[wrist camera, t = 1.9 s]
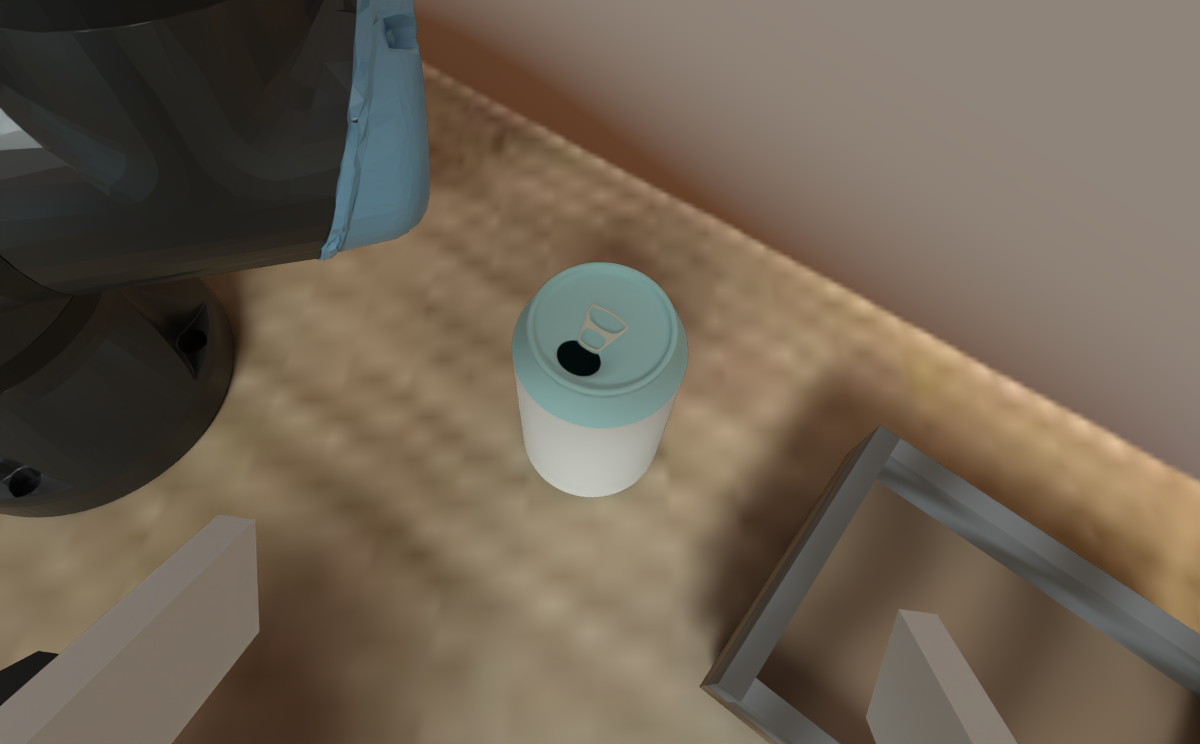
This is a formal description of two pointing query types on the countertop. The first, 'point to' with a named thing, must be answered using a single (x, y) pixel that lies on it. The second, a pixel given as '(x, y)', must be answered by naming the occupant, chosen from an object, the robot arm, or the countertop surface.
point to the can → (597, 376)
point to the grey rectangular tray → (951, 617)
